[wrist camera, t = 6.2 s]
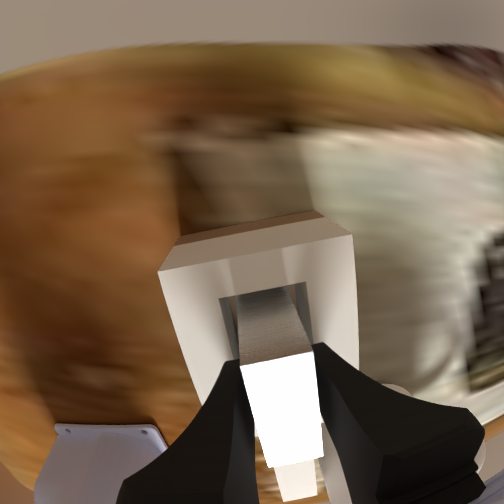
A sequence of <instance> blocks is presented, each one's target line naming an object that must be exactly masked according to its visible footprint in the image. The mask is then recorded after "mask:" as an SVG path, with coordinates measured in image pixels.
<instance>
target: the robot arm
mask: <svg viewBox="0 0 504 504" xmlns="http://www.w3.org/2000/svg"><path fill="white" fill-rule="evenodd" d="M311 347H312V349H313V353H314V362H315V371H316V380H317V390H318V401H319V411H320V414H321V416H322V419H323V421H324V423H325V425H326V428H327V430H328V432H329V435H330V437H331V439H332V442H333V444H334V446H335V448H336V451H337V454H338V456H339V459H340V462H341V466H342V469H343V473H344V476H345V480H346V483H347V487H348V490H349V494H350V498H351V501H352V504H504V469H503V470H502V471H500V472H499V473H497V474H496V475H494V476H493V477H491V478H490V479H488V480H486V481H485V482H483V481H482V480H481V479H480V477H479V475H478V474H477V472H476V471H477V470H478V469H479V468H478V465H477V463H476V462H475V461H474V458H475V457H476V455H477V453H478V451H479V449H480V446H481V444H482V442H483V439H484V436H485V429H484V428H483V426H482V425H481V424H480V423H479V421H478V420H477V419H476V417H475V416H474V415H473V414H472V413H471V412H470V411H469V410H468V409H467V408H460V407H453V406H445V405H439V404H435V403H431V402H427V401H423V400H419V399H416V398H413V397H410V396H407V395H405V394H402V393H399V392H397V391H394V390H392V389H390V388H388V387H386V386H384V385H382V384H380V383H378V382H376V381H375V380H373V379H371V378H370V377H368V376H366V375H365V374H363V373H362V372H360V371H359V370H357V369H356V368H355V367H353V366H352V365H351V364H349V363H348V362H347V361H345V360H344V359H343V358H342V357H340V356H339V355H338V354H337V353H336V352H334V351H333V350H332V349H331V348H330V347H329V346H328V345H327V344H325V343H324V342H320V343H316V344H311ZM54 429H55V431H56V432H57V433H58V437H57V439H56V440H55V442H54V444H53V447H52V449H51V451H50V453H49V455H48V457H47V459H46V461H45V463H44V465H43V467H42V469H41V471H40V474H39V476H38V478H37V480H36V483H35V488H34V502H35V504H259V498H258V490H257V482H256V473H255V419H254V415H253V412H252V408H251V405H250V401H249V397H248V394H247V390H246V387H245V383H244V379H243V376H242V372H241V368H240V359H235V360H229V361H225V362H224V364H223V366H222V369H221V371H220V373H219V376H218V378H217V380H216V382H215V384H214V386H213V388H212V390H211V392H210V394H209V396H208V397H207V399H206V401H205V402H204V404H203V405H202V407H201V409H200V410H199V412H198V413H197V415H196V416H195V418H194V419H193V420H192V422H191V423H190V424H189V426H188V427H187V428H186V429H185V431H184V432H183V433H182V434H181V435H180V436H179V437H178V438H177V439H176V440H175V442H174V443H173V444H172V445H171V446H170V447H169V448H168V446H167V445H166V443H165V441H164V439H163V438H162V436H161V434H160V432H159V430H158V428H157V427H156V426H154V425H151V424H144V425H79V424H60V423H56V424H55V426H54ZM144 430H145V431H144Z"/></svg>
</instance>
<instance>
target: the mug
mask: <svg viewBox="0 0 504 504" xmlns="http://www.w3.org/2000/svg"><path fill="white" fill-rule="evenodd" d="M382 385H384V386H386V387H388V388H390V389H392V390H394V391H397V392H399V393H402V394H405V395H407V396H410V397H413V396H412V395H411V394H410V393H409V392H408V391H407V390H406V389H404V388H402V387H400V386H397V385H394V384H382ZM413 398H414V397H413ZM321 435H322V447H323V456H322V457H318V461H319V464H320V468H321V471H322V475H323V478H324V482H325V485H326V489H327V492H328V496H329V500H330V503H331V504H352V501H351V498H350V494H349V490H348V487H347V483H346V480H345V476H344V473H343V469H342V466H341V462H340V459H339V456H338V454H337V451H336V448H335V446H334V444H333V442H332V439H331V437H330V435H329V432H328V430H327V428H326V425H325V423H321ZM485 453H486V447H485V442H484V439H483V442H482V444H481V446H480V449H479V451H478V453H477V455H476V457H475V458H474V461H475V462H476V463H477V465H478V468H479V469H478V470H477V471H476V472H477V473H478V472H479V471H480V469H481V467H482V465H483V462H484V459H485Z"/></svg>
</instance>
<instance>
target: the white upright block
mask: <svg viewBox="0 0 504 504" xmlns="http://www.w3.org/2000/svg"><path fill="white" fill-rule="evenodd" d="M237 317H238V338H239V357H240V368H241V372H242V376H243V379H244V383H245V387H246V390H247V394H248V397H249V401H250V405H251V408H252V412H253V415H254V419H255V422H256V426H257V429H258V433H259V436H260V440H261V443H262V446H263V450H264V453H265V456H266V460H267V463H268V466H269V467H274V466H279V465H285V464H290V463H295V462H300V461H304V460H309V459H313V458H318V457H322V456H323V447H322V435H321V423H320V411H319V401H318V390H317V380H316V371H315V362H314V353H313V349H312V347H311V344H310V342H309V340H308V337H307V335H306V332H305V330H304V328H303V325H302V323H301V320H300V318H299V316H298V313H297V311H296V309H295V306H294V304H293V302H292V299H291V297H290V294H289V292H288V290H287V287H286V286H281V287H276V288H271V289H266V290H260V291H255V292H250V293H245V294H240V295H237Z"/></svg>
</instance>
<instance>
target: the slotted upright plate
mask: <svg viewBox="0 0 504 504" xmlns="http://www.w3.org/2000/svg"><path fill="white" fill-rule="evenodd" d="M158 275H159V279H160V282H161V286H162V289H163V293H164V296H165V299H166V303H167V306H168V309H169V312H170V316H171V319H172V322H173V325H174V328H175V331H176V334H177V337H178V340H179V343H180V346H181V349H182V352H183V355H184V358H185V361H186V364H187V366H188V369H189V372H190V375H191V378H192V380H193V383H194V386H195V388H196V391H197V394H198V396H199V399H200V402H201V404H202V405H203V404H204V402H205V401H206V399H207V397H208V396H209V394H210V392H211V390H212V388H213V386H214V384H215V382H216V380H217V378H218V376H219V373H220V371H221V369H222V366H223V364H224V362H225V361H229V360H235V359H240V357H239V338H238V317H237V295H240V294H245V293H250V292H255V291H260V290H266V289H271V288H276V287H281V286H286V287H287V290H288V292H289V294H290V297H291V299H292V302H293V304H294V306H295V309H296V311H297V313H298V316H299V318H300V320H301V323H302V325H303V328H304V330H305V332H306V335H307V337H308V340H309V342H310V344H316V343H320V342H324V343H325V344H327V345H328V346H329V347H330V348H331V349H332V350H333V351H334V352H336V353H337V354H338V355H339V356H340V357H342V358H343V359H344V360H345V361H347V362H348V363H349V364H351V365H352V366H353V367H355V368H356V369H357V370H359V335H358V307H357V289H356V273H355V260H354V248H353V238H352V234H351V233H350V232H348V231H346V230H345V229H343V228H342V227H340V226H339V225H337V224H335V223H334V222H332V221H331V220H329V219H328V218H326V217H324V216H323V215H321V214H320V213H318V212H316V211H315V210H314V211H308V212H302V213H297V214H291V215H286V216H280V217H275V218H270V219H264V220H259V221H254V222H249V223H243V224H238V225H233V226H228V227H223V228H218V229H213V230H208V231H203V232H198V233H193V234H188V235H183V236H180V238H179V239H178V241H177V242H176V244H175V245H174V247H173V248H172V250H171V251H170V253H169V255H168V256H167V258H166V259H165V261H164V262H163V264H162V265H161V267H160V269H159V270H158ZM320 423H324V421H323V419H322V416H321V414H320ZM256 436H259V433H258V429H257V426H256V422H255V437H256ZM274 469H275V473H276V477H277V480H278V484H279V488H280V491H281V495H282V498H283V502H285V501H290V500H296V499H301V498H306V497H310V496H315V495H317V487H316V476H315V466H314V458H313V459H309V460H304V461H300V462H295V463H290V464H285V465H279V466H274Z"/></svg>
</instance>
